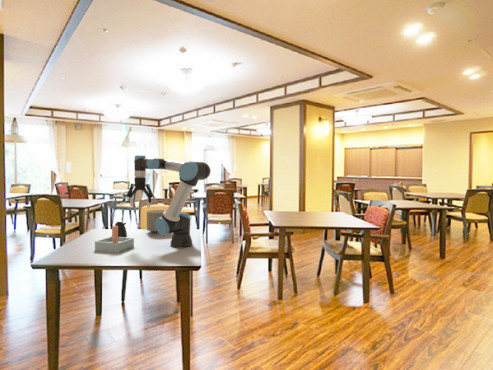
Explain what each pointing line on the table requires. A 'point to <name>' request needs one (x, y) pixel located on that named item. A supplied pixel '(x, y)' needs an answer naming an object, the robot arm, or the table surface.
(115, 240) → the peg
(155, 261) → the table surface
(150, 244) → the table surface
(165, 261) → the table surface
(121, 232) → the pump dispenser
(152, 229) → the planter
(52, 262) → the table surface
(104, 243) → the box
